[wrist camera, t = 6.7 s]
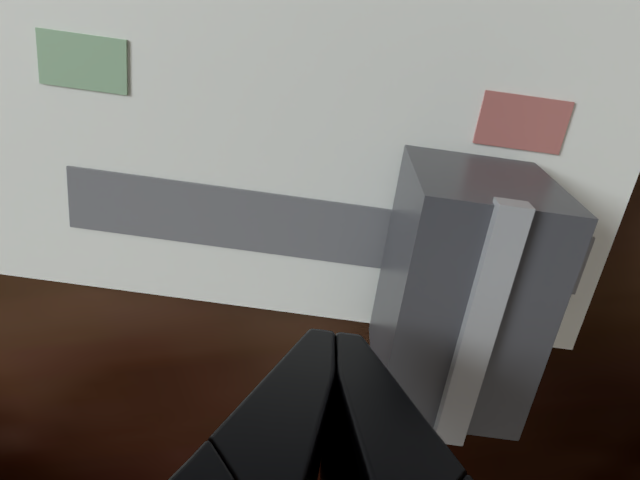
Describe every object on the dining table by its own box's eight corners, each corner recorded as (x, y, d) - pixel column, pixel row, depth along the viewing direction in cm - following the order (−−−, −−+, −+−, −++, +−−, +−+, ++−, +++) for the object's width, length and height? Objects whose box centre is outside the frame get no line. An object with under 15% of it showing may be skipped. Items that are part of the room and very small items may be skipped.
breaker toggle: (479, 346, 15) (520, 453, 11) (368, 332, 15) (375, 434, 11) (536, 158, 13) (607, 219, 9) (405, 140, 13) (428, 195, 9)
